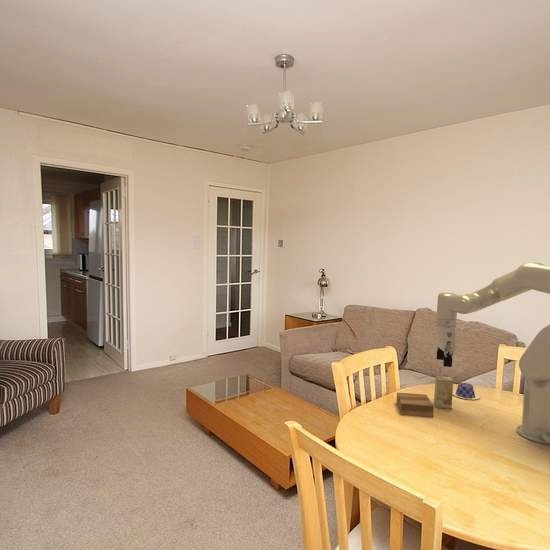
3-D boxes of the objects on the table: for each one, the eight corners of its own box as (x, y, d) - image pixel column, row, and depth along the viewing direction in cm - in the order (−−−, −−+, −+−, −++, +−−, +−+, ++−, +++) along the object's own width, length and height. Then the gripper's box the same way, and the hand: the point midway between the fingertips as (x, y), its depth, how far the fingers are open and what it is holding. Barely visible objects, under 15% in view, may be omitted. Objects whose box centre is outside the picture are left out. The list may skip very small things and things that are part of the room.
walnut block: (433, 418, 147) (433, 406, 147) (401, 416, 149) (401, 403, 148) (425, 406, 159) (426, 394, 158) (396, 403, 161) (396, 392, 160)
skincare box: (436, 407, 156) (437, 379, 155) (433, 403, 160) (434, 375, 160) (452, 409, 155) (453, 380, 154) (449, 404, 159) (450, 376, 159)
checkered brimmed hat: (444, 392, 175) (445, 381, 174) (465, 389, 178) (465, 379, 178) (465, 402, 163) (465, 390, 163) (486, 399, 167) (487, 387, 166)
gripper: (463, 327, 147) (460, 370, 148) (449, 319, 164) (446, 357, 165) (442, 326, 148) (440, 368, 149) (431, 318, 165) (429, 356, 166)
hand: (443, 362), depth 157 cm, fingers open, 9 cm apart
